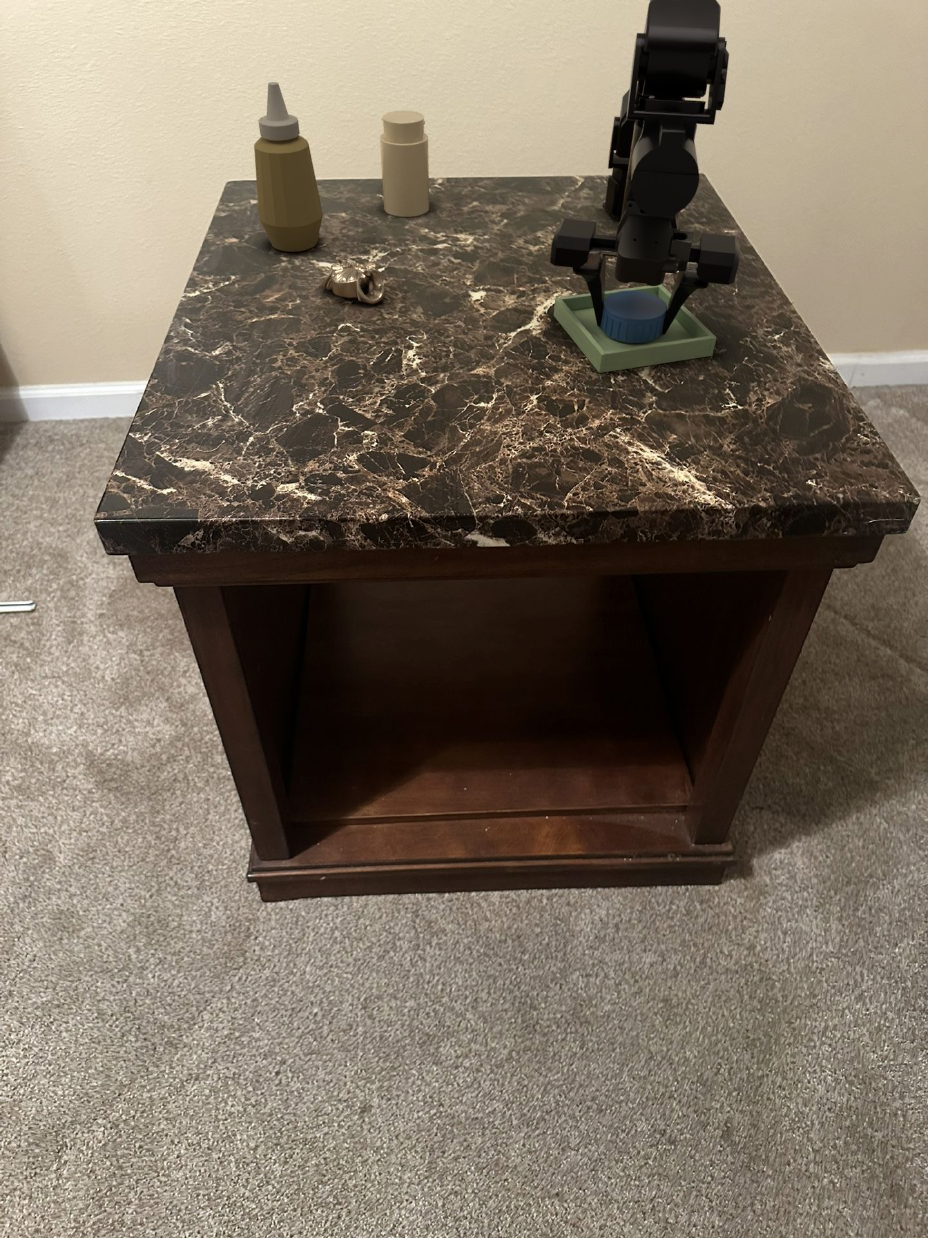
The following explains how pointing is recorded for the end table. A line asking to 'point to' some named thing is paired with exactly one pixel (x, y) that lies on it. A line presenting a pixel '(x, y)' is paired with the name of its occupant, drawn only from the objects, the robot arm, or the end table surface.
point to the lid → (633, 316)
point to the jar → (405, 164)
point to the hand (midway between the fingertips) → (631, 328)
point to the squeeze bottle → (286, 179)
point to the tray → (611, 355)
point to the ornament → (355, 281)
